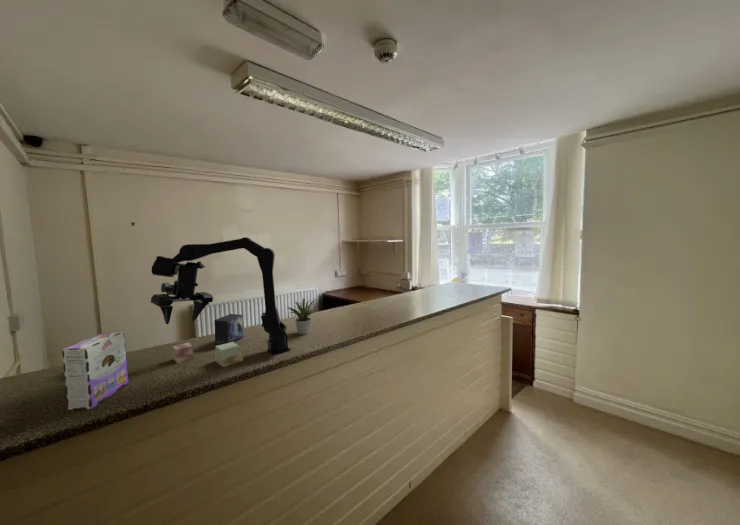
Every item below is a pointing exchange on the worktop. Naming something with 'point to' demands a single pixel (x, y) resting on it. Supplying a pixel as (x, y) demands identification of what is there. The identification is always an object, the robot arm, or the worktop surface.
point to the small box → (228, 329)
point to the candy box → (95, 369)
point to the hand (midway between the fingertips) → (180, 322)
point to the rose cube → (182, 352)
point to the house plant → (302, 317)
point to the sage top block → (227, 350)
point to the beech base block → (229, 360)
